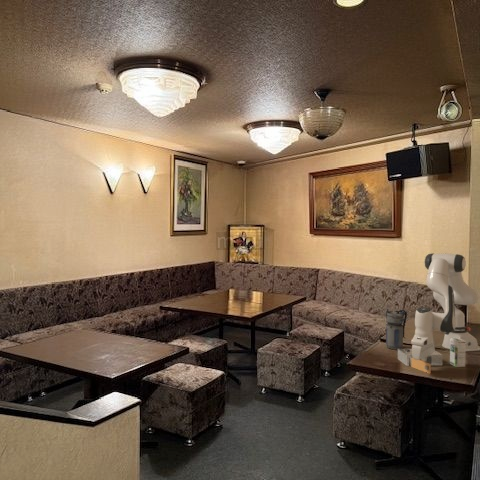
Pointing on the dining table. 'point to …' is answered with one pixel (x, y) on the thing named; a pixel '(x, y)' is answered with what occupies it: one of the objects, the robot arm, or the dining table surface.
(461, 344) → the syrup box
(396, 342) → the beverage bottle
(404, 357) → the grey box
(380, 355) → the dining table surface
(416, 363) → the side door
